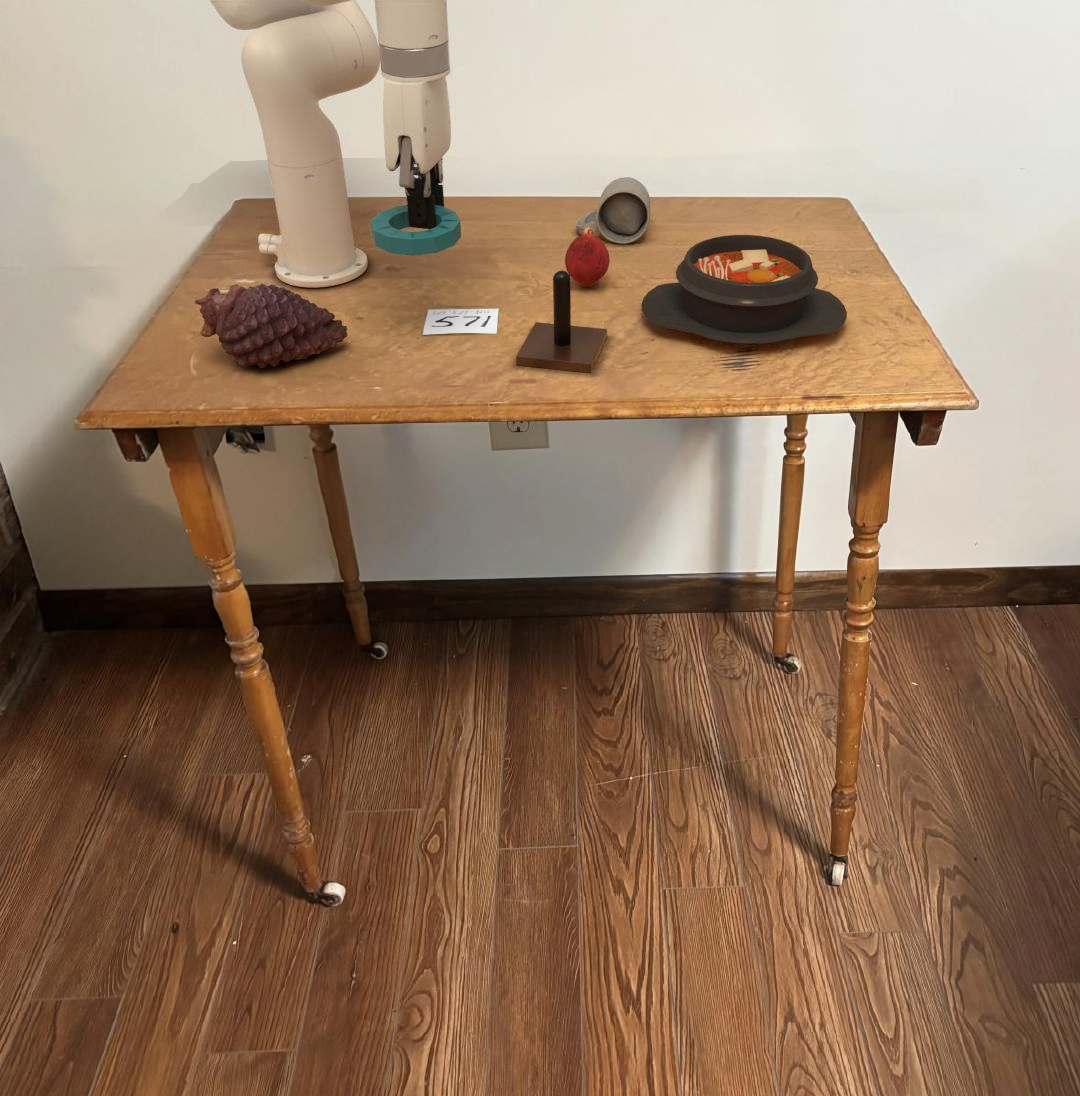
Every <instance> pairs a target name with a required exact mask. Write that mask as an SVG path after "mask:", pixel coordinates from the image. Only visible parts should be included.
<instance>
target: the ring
mask: <svg viewBox="0 0 1080 1096" xmlns="http://www.w3.org/2000/svg"><path fill="white" fill-rule="evenodd" d="M435 214H436V227H435V228H432V229H424V230H419V231H411V230H405V229H408V228H411V227H410V225H409V218H408V206H407V204H402V205H401V204H400V205H396V206H393V207H390V208H387V209H385V210H382V211H379V212H378V213H377V214H376V215H375V216H374V217H373V218H372V219H371V220H370V228H371V237H372V240H373V243H374V245H375V248H377V249H380V250H382V251H385V252H387V253H389V254H392V255H401V256H412V257H416V256H423V255H430V254H431V255H432V254H438V253H440V252H443V251H445V250H447V249H450V248H452V247H454V246H456V244H457V243H458V242H459V240H460V239H461V238H462V227H461V219H460V218H459V216H458V213H457V212H456V211H455V210H452V209H450V208H447V207H445V206H444V207H442V206H439V205H435Z"/></svg>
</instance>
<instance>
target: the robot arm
mask: <svg viewBox="0 0 1080 1096" xmlns="http://www.w3.org/2000/svg"><path fill="white" fill-rule="evenodd" d="M209 2H210V3H211V5H212V6H213V7H214V9H215V10H216V12H217V14H218V15H219V17H221V18H222V19H223V21H224V22H225V23H226V24H227V25H228V26H230V27H232V28H233V29H236V30H240V31H250V30H253V31H252V33H250V34H249V35H248V36H247V37H246V39H245V41H244V42H243V45H242V47H241V48H242V49H241V54H240V55H241V58H240V59H241V66H242V67H241V68H242V72H243V75H244V78H245V81H246V83H247V86H248V89H249V92H250V95H251V97H252V100H253V103H254V106H255V109H256V113H257V116H258V120H259V123H260V128H261V132H262V133H261V134H262V137H263V142H264V148H265V153H266V159H267V160H266V161H267V166H268V170H269V176H270V182H271V187H272V192H273V198H274V204H275V211H276V215H277V220H278V228H279V233H280V234H279V235H278V234H277V235H276V234H272V233H259V234H258V240H257V243H258V251H259V253H260V254H262V255H264V254H265V255H274V256H275V257H277V260H276V261H275V264H274V270H275V271H274V272H275V275H276V277H277V278H278V279H279V280H280V281H281V282H283V283H285V284H287V285H291V286H294V287H299V288H313V289H315V288H327V287H328V288H329V287H333V286H338V285H342V284H345V283H348V282H351V281H353V280H355V279H357V278H358V277H361V275H363V274H364V273H365V272H366V271H367V269H368V267H369V266H368V265H369V262H368V255H367V253H366V252H364V250H362V249H361V248H358V247H356V246H355V242H354V235H353V234H354V233H353V227H352V221H351V212H350V205H349V197H348V190H347V181H346V175H345V167H344V159H343V153H342V146H341V145H342V144H341V141H340V140H341V139H340V136H339V133H338V131H337V129H336V127H335V125H334V123H333V122H332V121H331V120H330V118H328V116H327V115H326V113H324V111H323V110H322V109H321V107H320V104H319V102H320V101H321V100H324V99H327V98H329V97H333V96H336V95H339V94H343V93H346V92H349V91H352V90H353V91H354V90H356V89H359V88H362V87H364V86H366V85H368V84H369V83H371V82H372V81H373V80H374V79H375V78H376V76H377V75H378V72H379V70H380V74H381V76H382V77H383V78H384V80H383V94H382V95H383V97H382V98H383V99H382V118H383V120H382V121H383V140H384V158H385V168H386V169H387V170H388V171H389V172H395V171H396V170H397V169H399V176H398V186H399V188H404V194H405V196H406V205H407V206H408V218H409V225H410V227H409V228H412V229H424V230H430V229H432V228H435V227H436V214H435V205H439V206H442V207H445V195H444V185H443V182H444V169H443V163H444V161H443V160H444V159H443V157H444V156H445V155H446V153H448V151H449V150H450V147H451V144H452V124H451V123H452V121H451V112H450V111H451V110H450V100H449V92H448V82H447V76H449V75H450V74H451V58H450V41H449V39H450V38H449V37H450V36H449V21H448V19H449V18H448V5H447V2H448V1H447V0H374V9H375V20H376V21H375V22H376V30H377V31H376V32H377V37H376V33H375V32H374V29H373V28H372V25H371V23H370V22H369V20H368V18H367V17H366V15H365V13H364V11H363V10H362V8H361V7H360V4H359V3H358V2H357V0H209ZM415 165H416V166H415ZM416 176H417V177H416Z"/></svg>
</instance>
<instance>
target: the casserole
mask: <svg viewBox="0 0 1080 1096" xmlns="http://www.w3.org/2000/svg"><path fill="white" fill-rule="evenodd" d="M675 277H676V280H677V282H669V283H663V284H658V285H656V286H655V287H654V288H652V289H650V290H649V291H648V292H647V293H646V294H645V296H644V297H643V299H642V301H641V312H642V313H643V315H644V317H645V318H646V319H647V320H648V321H649V322H650V323H652V324H653V325H656V326H657V327H660V328H666V329H671V330H677V331H681V332H687V333H690V334H693V335H696V336H699V337H703V338H707V339H708V340H709V339H710V340H714V341H719V342H722V343H729V344H739V345H761V344H771V343H778V342H782V341H786V340H791V339H796V338H800V337H814V336H823V335H828V334H831V333H834V332H837V331H839V330H840V329H841V328H842V327H843V326H844V325H845V324H846V321H847V318H848V311H847V309H846V305H844V303H843V302H842V301H841V300H840V299H839V298H838V297H837V296H836V295H835V294H833V293H832V292H830V291H827V290H824V289H820V288H816V287H817V285H818V283H819V275H818V273H817V271H816V269H814V266H813V262H812V259H811V257H810V255H809V254H808V253H807V251H805V250H804V249H802V248H801V247H800V246H797V245H796V244H794V243H792V242H789V241H785V240H783V239H779V238H776V237H771V236H763V235H757V234H756V235H754V234H730V235H722V236H721V235H720V236H715V237H711V238H707V239H704V240H702V241H700V242H699V241H698V242H697V243H696V244H694V245H692V246H690V248H689V249H688V250H687V251H686V253H685V256H684V258H683V260H682V261H680V263H679V264H678V265H677V267H676V270H675Z"/></svg>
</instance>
